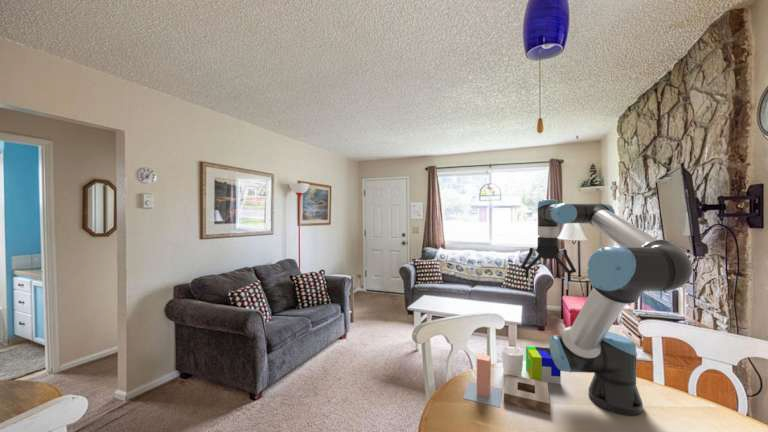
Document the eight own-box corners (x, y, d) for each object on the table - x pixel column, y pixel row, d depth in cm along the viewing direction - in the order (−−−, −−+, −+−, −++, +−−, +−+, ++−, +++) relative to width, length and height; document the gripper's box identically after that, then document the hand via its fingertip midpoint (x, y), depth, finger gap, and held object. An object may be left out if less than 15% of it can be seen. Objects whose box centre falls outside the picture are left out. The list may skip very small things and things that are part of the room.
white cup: (502, 379, 122) (502, 353, 122) (501, 369, 130) (501, 345, 130) (524, 382, 120) (524, 356, 120) (521, 372, 127) (521, 348, 127)
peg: (490, 391, 112) (490, 356, 112) (489, 398, 109) (489, 361, 108) (478, 389, 114) (478, 354, 114) (476, 395, 110) (476, 358, 110)
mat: (502, 390, 114) (502, 388, 114) (499, 409, 103) (499, 407, 103) (469, 383, 119) (469, 381, 119) (463, 399, 108) (463, 398, 108)
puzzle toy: (560, 385, 118) (560, 359, 118) (532, 382, 120) (532, 356, 120) (551, 372, 128) (551, 348, 128) (525, 369, 130) (526, 346, 130)
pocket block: (547, 393, 113) (547, 382, 113) (549, 415, 100) (550, 403, 100) (505, 384, 118) (506, 373, 118) (503, 404, 106) (503, 393, 106)
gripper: (581, 237, 127) (580, 288, 128) (515, 235, 138) (515, 282, 138) (584, 238, 121) (584, 292, 121) (515, 236, 131) (514, 286, 131)
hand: (547, 287), depth 129 cm, fingers open, 13 cm apart
